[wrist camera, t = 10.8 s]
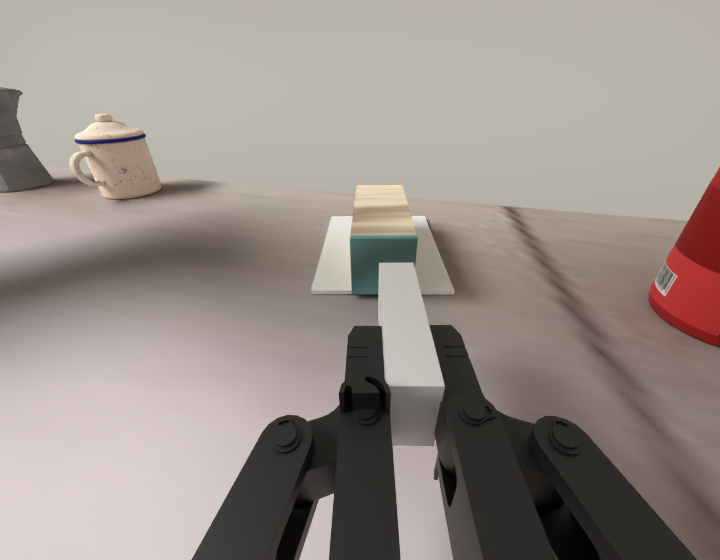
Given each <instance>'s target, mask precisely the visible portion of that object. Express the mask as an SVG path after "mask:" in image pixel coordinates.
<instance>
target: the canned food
mask: <svg viewBox="0 0 720 560" xmlns="http://www.w3.org/2000/svg"><path fill="white" fill-rule="evenodd" d="M649 302H650V305H651V307H652V308H653V309H654V311H655V312H656V313H657V314H658V315H659V316H660V317H661V318H662V319H664V320H665V321H666V322H668V323H669V324H671V325H672V326H674V327H675V328H677V329H679V330H680V331H682V332H684V333H686V334H688V335H690V336H692V337H694V338H697V339H699V340H702V341H704V342H706V343H709V344H712V345H715V346H718V347H720V168H719V169H718V171H717V173H716V174H715V176H714V178H713V179H712V181H711V182H710V184H709V186H708V188H707V189H706V191H705V193H704V194H703V196H702V198H701V200H700V202H699V203H698V205H697V207H696V208H695V210H694V212H693V214H692V216H691V217H690V219H689V221H688V223H687V224H686V226H685V228H684V230H683V231H682V233H681V235H680V237H679V238H678V240H677V242H676V244H675V245H674V247H673V249H672V251H671V252H670V254H669V256H668V258H667V259H666V261H665V263H664V265H663V266H662V268H661V270H660V272H659V273H658V275H657V277H656V279H655V280H654V282H653V284H652V286H651V288H650V295H649Z"/></svg>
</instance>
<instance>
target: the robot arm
mask: <svg viewBox="0 0 720 560" xmlns="http://www.w3.org/2000/svg"><path fill="white" fill-rule="evenodd" d="M378 321H379V326H354V328H353V329H352V331H351V332H350V334H349V335H348V345H347V359H346V372H345V381H344V382H343V384H342V385H341V388H340V391H339V401H340V405H339V406H338V407H337V408H336V409H335V410H334V411H333V412H331V413H330V414H328V415H326V416H323V417H321V418H318V419H314V420H311V421H308V422H307V421H306V420H305V419H303V418H301V417H299V416H297V415H286V416H283V417H279V418H277V419H276V420H274V421H273V422H271V423H270V424H268V426H267V427H266V428H265V430H264V431H263V432H262V434H261V435H260V437H259V439H258V441H257V443H256V445H255V446H254V448H253V450H252V452H251V454H250V455H249V457H248V459H247V461H246V463H245V464H244V466H243V468H242V470H241V472H240V473H239V475H238V477H237V479H236V481H235V482H234V484H233V486H232V488H231V490H230V491H229V493H228V495H227V497H226V499H225V500H224V502H223V504H222V506H221V508H220V509H219V511H218V513H217V515H216V517H215V518H214V520H213V522H212V524H211V526H210V527H209V529H208V531H207V533H206V535H205V537H204V538H203V540H202V542H201V544H200V546H199V547H198V549H197V551H196V553H195V555H194V556H193V558H192V560H299V558H300V555H301V552H302V549H303V546H304V543H305V540H306V537H307V534H308V531H309V528H310V525H311V522H312V519H313V516H314V512H315V509H316V506H317V503H318V500H319V499H320V498H322V497H325V496H328V495H330V494H333V493H334V502H333V515H332V528H331V541H330V554H329V560H400V546H399V532H398V518H397V504H396V490H395V476H394V462H393V448H392V445H409V446H434V440H435V438H436V443H437V449H438V455H437V460H436V465H435V469H434V480H438V476H439V481H440V487H441V493H442V498H443V504H444V509H445V515H446V521H447V526H448V532H449V538H450V543H451V549H452V554H453V560H697V559H696V558H695V557H694V556H693V555H692V553H691V552H690V551H689V550H688V549H687V548H686V547H685V545H684V544H683V543H682V542H681V541H680V540H679V539H678V537H677V536H676V535H675V534H674V533H673V532H672V531H671V530H670V528H669V527H668V526H667V525H666V524H665V523H664V522H663V520H662V519H661V518H660V517H659V516H658V515H657V514H656V512H655V511H654V510H653V509H652V508H651V507H650V506H649V504H648V503H647V502H646V501H645V500H644V499H643V498H642V497H641V495H640V494H639V493H638V492H637V491H636V490H635V489H634V487H633V486H632V485H631V484H630V483H629V482H628V481H627V479H626V478H625V477H624V476H623V475H622V474H621V473H620V471H619V470H618V469H617V468H616V467H615V466H614V465H613V464H612V462H611V461H610V460H609V459H608V458H607V457H606V456H605V454H604V453H603V452H602V451H601V450H600V449H599V448H598V446H597V445H596V444H595V443H594V442H593V441H592V440H591V439H590V437H589V436H588V435H587V434H586V433H585V432H584V431H583V430H581V429H580V428H579V427H578V426H577V425H575V424H573V423H572V422H570V421H568V420H566V419H563V418H559V417H556V416H545V417H543V418H541V419H539V420H537V422H536V424H532V423H529V422H525V421H522V420H518V419H515V418H512V417H509V416H506V415H504V414H502V413H501V412H499V411H497V410H496V409H495V407H494V405H492V404H491V403H490V402H489V401H488V400H487V399H485V397H484V395H483V393H482V391H481V388H480V386H479V383H478V380H477V377H476V375H475V372H474V369H473V367H472V364H471V361H470V358H468V353H467V350H466V348H465V345H464V342H463V339H462V337H461V335H460V334H459V333H458V331H457V330H456V329H455V328H454V327H453V326H452V325H429V322H428V318H427V314H426V310H425V306H424V302H423V298H422V294H421V290H420V286H419V283H418V279H417V275H416V271H415V267H414V263H379V290H378Z"/></svg>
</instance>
